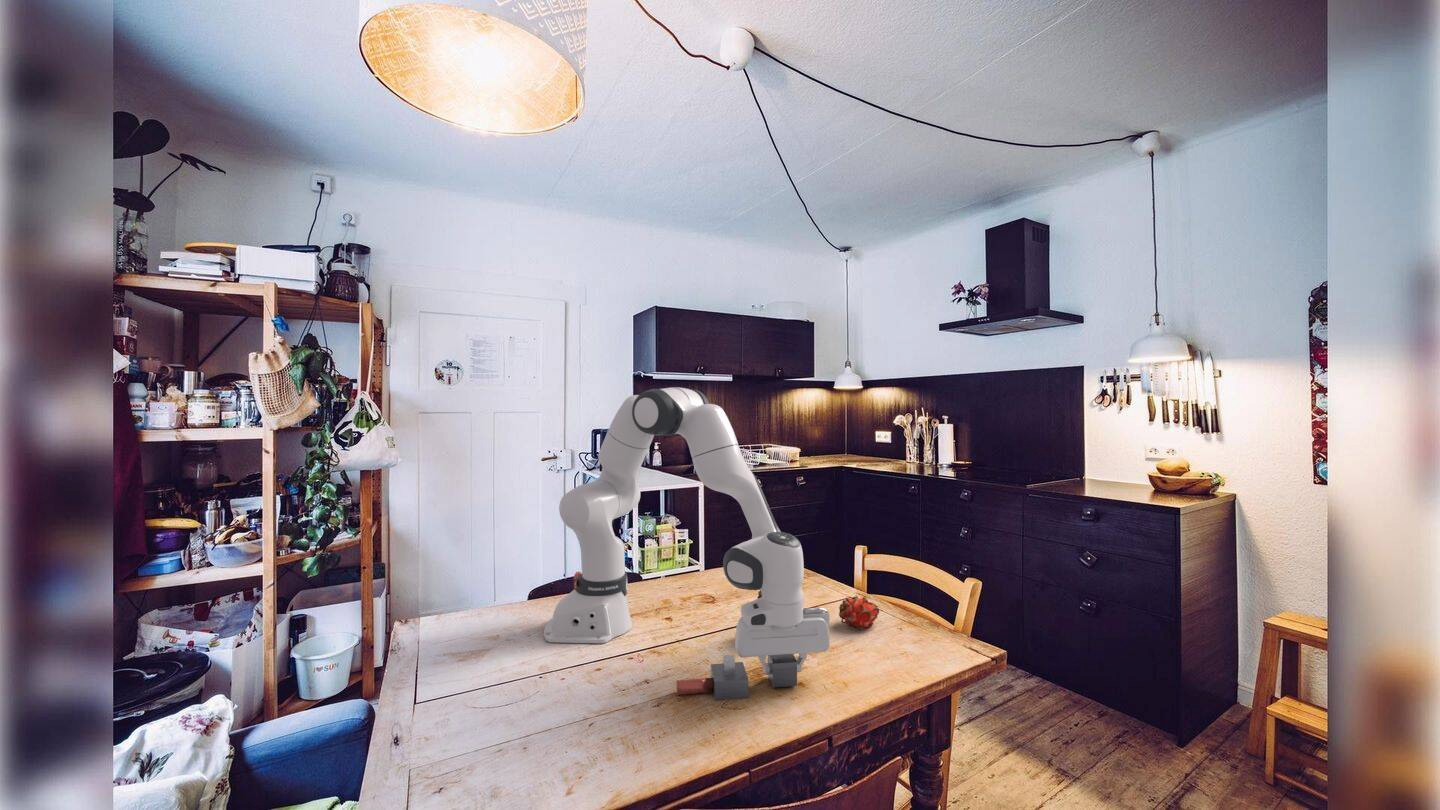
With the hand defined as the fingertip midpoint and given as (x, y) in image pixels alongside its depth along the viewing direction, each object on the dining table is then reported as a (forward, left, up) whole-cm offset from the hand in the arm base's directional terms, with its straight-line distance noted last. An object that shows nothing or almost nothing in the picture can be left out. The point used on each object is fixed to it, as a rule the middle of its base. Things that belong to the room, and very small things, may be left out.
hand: (782, 672), depth 126 cm
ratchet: (-15, -1, -2) cm, 16 cm away
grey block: (0, 0, -2) cm, 2 cm away
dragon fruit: (+26, +24, -3) cm, 36 cm away
